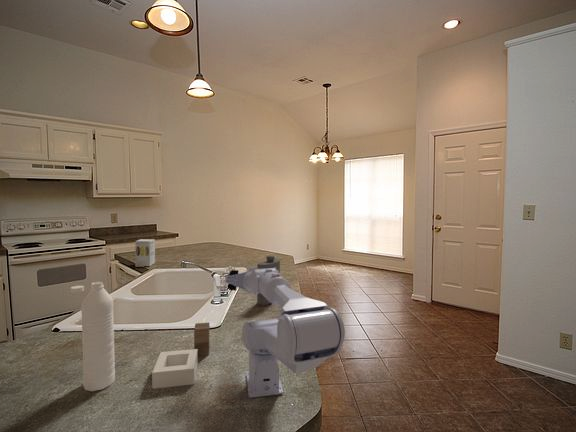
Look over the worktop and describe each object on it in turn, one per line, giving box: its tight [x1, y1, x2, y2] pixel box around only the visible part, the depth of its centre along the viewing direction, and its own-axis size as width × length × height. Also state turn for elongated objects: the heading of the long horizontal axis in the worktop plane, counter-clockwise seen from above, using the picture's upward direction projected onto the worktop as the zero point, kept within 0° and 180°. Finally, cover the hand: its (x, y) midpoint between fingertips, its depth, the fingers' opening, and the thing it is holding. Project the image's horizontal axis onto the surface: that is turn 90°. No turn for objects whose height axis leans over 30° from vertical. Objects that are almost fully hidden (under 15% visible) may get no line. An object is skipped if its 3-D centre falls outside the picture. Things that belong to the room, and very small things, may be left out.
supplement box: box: [134, 238, 156, 268], centre depth 195 cm, size 10×9×17 cm
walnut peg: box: [193, 322, 210, 357], centre depth 87 cm, size 4×4×8 cm
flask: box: [256, 255, 281, 306], centre depth 132 cm, size 15×6×20 cm, turn 153°
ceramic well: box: [151, 348, 199, 390], centre depth 76 cm, size 10×10×4 cm
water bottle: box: [70, 281, 116, 392], centre depth 70 cm, size 9×6×25 cm
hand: (244, 281), depth 92 cm, fingers open, 7 cm apart
